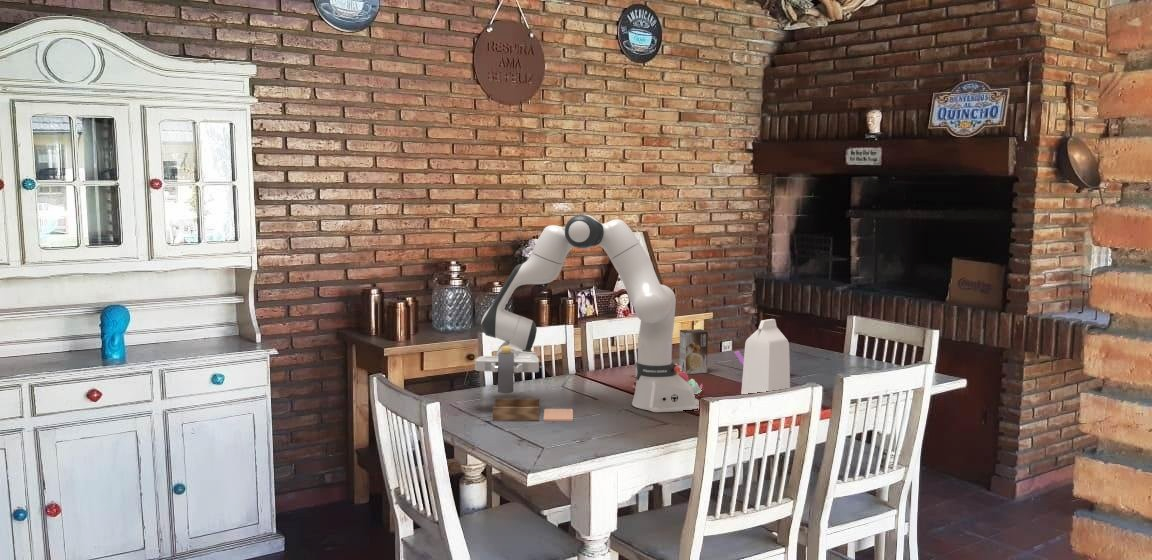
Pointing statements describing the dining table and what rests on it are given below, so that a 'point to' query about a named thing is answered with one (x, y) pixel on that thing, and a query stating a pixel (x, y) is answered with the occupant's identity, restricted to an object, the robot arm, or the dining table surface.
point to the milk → (766, 360)
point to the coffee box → (693, 351)
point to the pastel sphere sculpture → (686, 378)
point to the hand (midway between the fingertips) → (505, 369)
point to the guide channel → (516, 409)
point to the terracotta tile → (558, 414)
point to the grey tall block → (505, 370)
